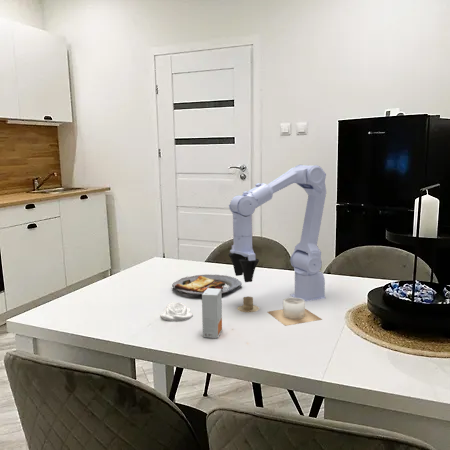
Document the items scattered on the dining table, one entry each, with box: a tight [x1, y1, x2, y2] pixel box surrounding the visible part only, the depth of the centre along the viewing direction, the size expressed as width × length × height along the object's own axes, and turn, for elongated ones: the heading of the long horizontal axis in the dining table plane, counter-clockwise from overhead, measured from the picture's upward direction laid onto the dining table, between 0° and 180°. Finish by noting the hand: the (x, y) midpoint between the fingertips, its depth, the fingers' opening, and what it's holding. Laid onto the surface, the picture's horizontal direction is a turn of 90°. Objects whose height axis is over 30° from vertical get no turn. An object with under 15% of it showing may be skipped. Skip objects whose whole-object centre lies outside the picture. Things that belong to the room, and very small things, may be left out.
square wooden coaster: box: [267, 308, 323, 327], centre depth 134 cm, size 12×12×1 cm
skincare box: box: [201, 288, 223, 339], centre depth 123 cm, size 6×4×12 cm
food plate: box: [171, 274, 243, 296], centre depth 164 cm, size 25×23×4 cm
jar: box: [282, 296, 306, 319], centre depth 134 cm, size 6×6×4 cm
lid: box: [236, 296, 260, 313], centre depth 141 cm, size 7×7×4 cm
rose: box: [160, 302, 194, 322], centre depth 137 cm, size 10×4×10 cm
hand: (243, 278), depth 139 cm, fingers open, 7 cm apart
